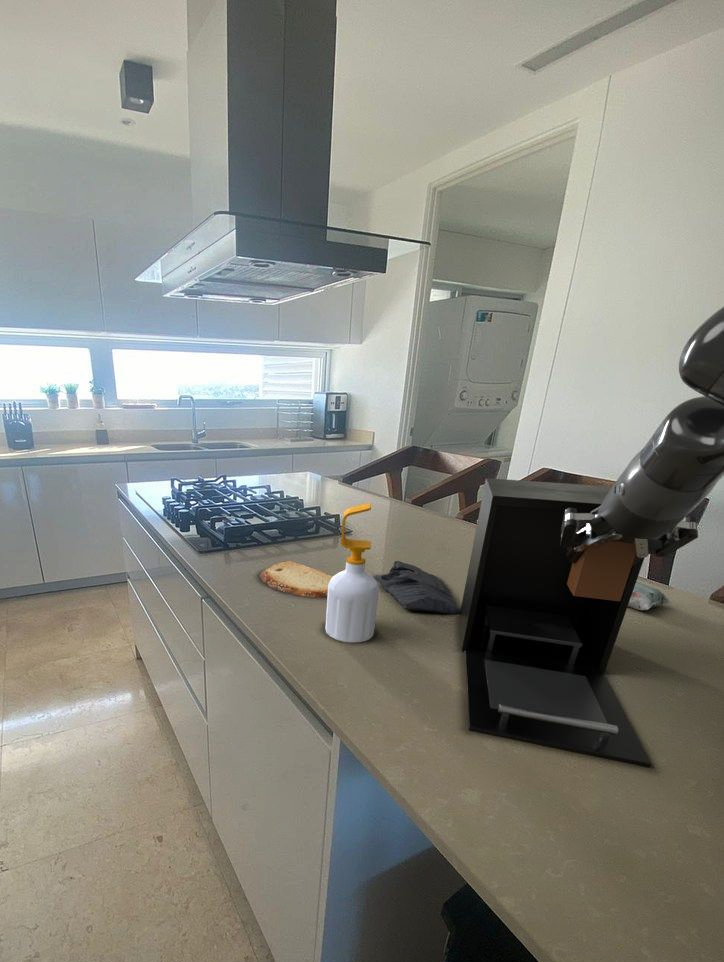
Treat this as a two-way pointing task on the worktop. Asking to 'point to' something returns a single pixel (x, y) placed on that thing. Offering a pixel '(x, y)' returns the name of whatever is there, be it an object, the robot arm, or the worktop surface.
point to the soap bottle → (352, 592)
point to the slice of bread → (297, 579)
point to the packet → (602, 571)
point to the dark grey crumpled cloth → (417, 589)
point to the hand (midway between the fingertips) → (597, 559)
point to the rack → (531, 627)
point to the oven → (530, 663)
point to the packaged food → (646, 597)
